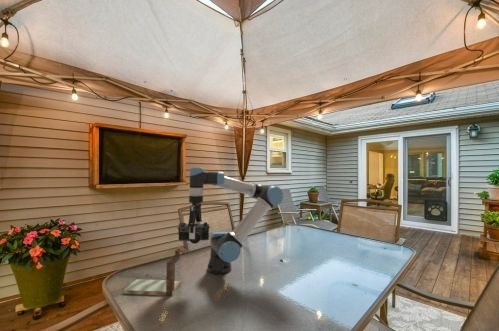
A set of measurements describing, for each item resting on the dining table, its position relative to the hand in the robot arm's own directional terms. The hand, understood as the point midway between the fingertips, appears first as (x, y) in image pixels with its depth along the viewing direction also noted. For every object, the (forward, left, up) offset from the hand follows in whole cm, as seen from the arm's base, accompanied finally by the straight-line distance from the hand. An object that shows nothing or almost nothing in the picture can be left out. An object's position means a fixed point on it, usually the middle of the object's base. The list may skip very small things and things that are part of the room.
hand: (194, 236), depth 124 cm
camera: (+1, 0, -3) cm, 3 cm away
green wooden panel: (+19, +6, -26) cm, 33 cm away
